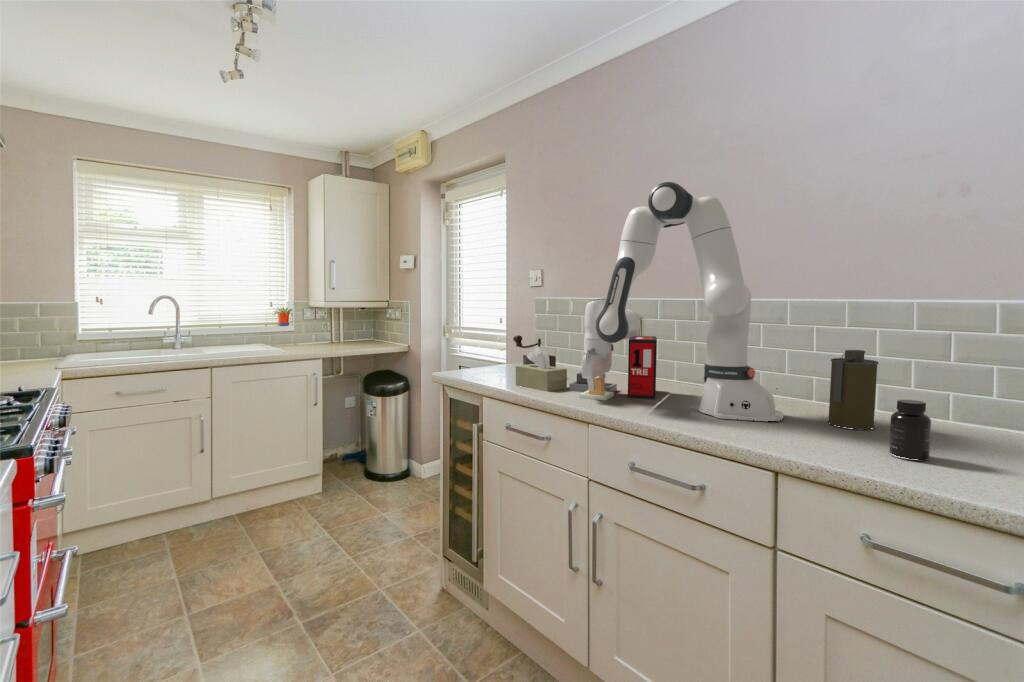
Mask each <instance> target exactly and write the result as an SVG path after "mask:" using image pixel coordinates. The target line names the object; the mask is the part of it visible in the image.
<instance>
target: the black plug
mask: <svg viewBox="0 0 1024 682" xmlns="http://www.w3.org/2000/svg"><path fill="white" fill-rule="evenodd" d="M576 381H577V384H584V385H588V382H587V379H586V378H583V377H582V371H581V372H577V373H576Z"/></svg>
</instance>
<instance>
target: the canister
mask: <svg viewBox="0 0 1024 682" xmlns="http://www.w3.org/2000/svg"><path fill="white" fill-rule="evenodd" d="M865 353H866V350H861V349H845V350H844V353H843V354H842V356H841V357H837V358H835V357H834V358H831V359H830V361H831V368H830V369H831V370H830V385H829V388H830V389H829V401H828V402H829V403H828V404H829V406H828V420H827V424H828V423H830V424H832V425H836V426H840V427H846V428H853V429H871V428H874V427H875V413H876V412H875V409H876V393H877V392H876V391H877V377H878V365H879V363H880V362H879V361H877V360H874V359H865ZM830 424H829V425H830ZM832 425H831V426H832ZM875 428H876V427H875ZM875 428H874V429H875Z"/></svg>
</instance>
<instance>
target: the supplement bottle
mask: <svg viewBox="0 0 1024 682" xmlns="http://www.w3.org/2000/svg"><path fill="white" fill-rule="evenodd" d="M926 405H927V403H926V402H925V401H922V400H914V399H898V400H897V401H896V410H897V411H895V412H894V413H892V414H891V416H890V423H889V424H890V428H889V429H890V430H889V445H888V446H889V454H890V453H892V454H894V455H896V456H900V457H905V458H909V459H918V460H926V459H928V460H929V459H930V456H931V455H930V454H931V453H930V452H931V433H932V419H931V418H930V417H929V416H928V415H927V414H925V413H926V412H927V408H926ZM926 461H927V460H926Z"/></svg>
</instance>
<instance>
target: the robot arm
mask: <svg viewBox="0 0 1024 682" xmlns="http://www.w3.org/2000/svg"><path fill="white" fill-rule="evenodd" d="M647 201H648V204H647V205H648V206H643V205H642V206H635V207H634V208H633V209H631V210H630V211H629V213H628V215H627V217H626V220H625V223H624V225H623V229H622V231H621V232H622V234H621V237H620V243H619V248H618V254H617V258H616V262H615V266H614V269H613V272H612V277H611V279H610V284H609V288H608V292H607V296H606V297H605V298H603V297H602V298H596V299H591V300H590V301H588V302H587V303H586V306H585V309H584V310H585V311H584V321H583V322H584V323H583V326H584V329H585V330H584V331H585V333H584V335H583V336H584V337H583V352H584V355H583V357H582V363H581V364H582V365H581V372H582V377H583V378H586V379H587V382H588V390H589V391H594V390H595V385H594V380H595V378H603V379H605V380H606V375H607V373H609V372H610V371H611V368H612V363H613V361H612V359H613V353H612V352H613V351H614V350H615V349H614V347H615V346H614V344H615V343H617V342H620V341H623V340H627V339H629V338H630V337H633V336H637V334H638V333H639V331H640V329H641V326H642V325H641V318H640V317H639V314H637V312H635V311H634V310H631V309H628V308H627V306H628V305H627V304H628V301H629V297H630V293H631V289H632V287H633V283H634V281H635V280H636V279H637V278H638V277H639V276H640V275H641V274H642V273H643V272H644V271H646V270H647V269H648V268H649V267H651V264H652V262H653V259H654V256H655V253H656V248H657V243H658V239H659V234H660V231H661V230H662V228H670V227H676V226H680V225H684V224H686V227H687V228H688V231H689V234H690V239H691V242H692V246H693V250H694V253H695V258H696V261H697V265H698V269H699V276H700V282H701V283H700V284H701V287H702V288H701V289H702V294H703V299H704V304H705V307H706V308H707V310H708V311H709V313H710V314H709V323H708V324H709V325H708V331H707V335H706V353H705V354H706V359H705V364H704V368H703V382H704V385H703V393H702V398H701V401H700V405H699V407H698V411H699V412H701V413H703V414H705V415H706V414H707V415H709V416H712V417H715V418H717V419H723V420H737V419H738V420H740V421H753V420H754V421H755V422H768V421H778V422H780V420H781V421H783V420H782V419H784V412H783V411H781V410H779V409H777V408H776V402H775V398H774V396H773V394H772V392H770V390H768V389H767V388H766V387H765V386H763V385H762V384H760V383H759V382H758V381H757V380H756V379H754V378H755V375H756V370H755V369H754V368H753V367H751V366H749V365H748V363H747V362H748V343H749V342H748V341H749V330H750V320H751V311H752V310H751V308H752V293H751V290H750V288H749V287H748V286H747V285H746V284H745V280H744V276H743V272H742V268H741V263H740V257H739V251H738V249H737V245H736V241H735V237H734V234H733V230H732V226H731V222H730V220H729V217H728V215H727V212H726V210H725V208H724V206H723V204H722V202H721V201H720V199H719V198H717V197H716V196H711V195H710V196H709V195H708V196H707V195H706V196H705V195H704V196H702V197H701V196H700V197H698V198H694V197H693V195H692V194H691V193H690V192H689V191H688V190H687V188H685V187H684V186H682V185H680V184H678V183H676V182H674V181H664V182H661V183H659V184H657V185H656V186H655V187H653V188H652V189H651V190H650V193H649V195H648V200H647Z"/></svg>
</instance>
